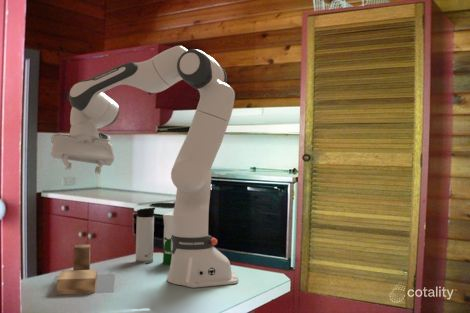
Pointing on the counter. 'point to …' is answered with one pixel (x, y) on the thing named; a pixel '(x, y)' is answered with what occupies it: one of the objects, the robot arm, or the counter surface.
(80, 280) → the oak base block
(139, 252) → the travel mug
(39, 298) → the counter surface
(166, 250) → the milk carton
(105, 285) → the grey mat
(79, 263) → the walnut column
